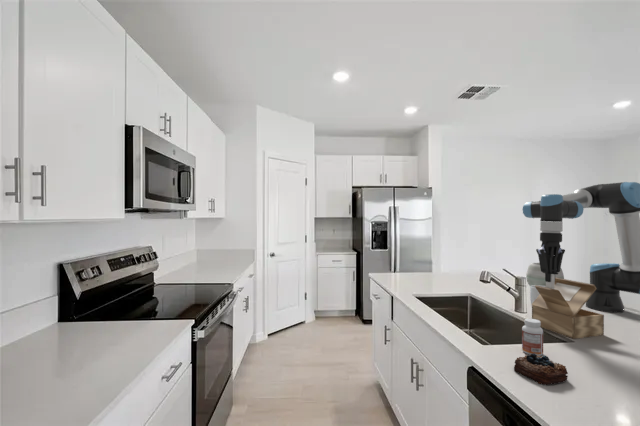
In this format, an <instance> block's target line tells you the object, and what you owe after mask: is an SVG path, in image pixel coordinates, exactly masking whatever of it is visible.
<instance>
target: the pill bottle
mask: <svg viewBox="0 0 640 426" xmlns="http://www.w3.org/2000/svg"><path fill="white" fill-rule="evenodd" d="M540 325H541V322H540V321H539V320H536V319H532V318H525V319H524V325H522V327H521V347H522V348H521V349H522V352H523V353H525V355H531V354H533V353H535V354H536V355H537V356H541V357H542V356H544V329H543V328H541V327H540Z"/></svg>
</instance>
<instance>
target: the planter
mask: <svg viewBox="0 0 640 426" xmlns="http://www.w3.org/2000/svg"><path fill="white" fill-rule="evenodd" d="M563 271H564V270H563V269H562V267H561V268H560V272H557V273H558V274H555V277H556V278H561V279H565V276H564V272H563ZM525 278H526V282H527V284H528V285H529V287H530V286H532V285H542V286H546V281H545V273H543V272H541V268H540V263H539V262H531V263H529V265H528V267H527V269H526V277H525Z"/></svg>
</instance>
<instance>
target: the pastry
mask: <svg viewBox="0 0 640 426" xmlns="http://www.w3.org/2000/svg"><path fill="white" fill-rule="evenodd" d="M514 360H515V361H514V366H513V371H514V372H515V373H517V374H519V375H521V376H523V377H524V378H527V379H529V380H531V381H533V382H536V383H537V384H539V385H542V386H554V385H559V384H563V383H565V382H566V381H567V379H568V377H569V376H568V374H569V372H568V370H567V367H566V366H565V365H563V364H561V363H559V362H558V363H557V362H553V361H552V360H550V359H549V356H547V355H541V356H537V355H536V354H535V353H533V354H531V355H529V354H525V355H524V356H519V357H516V359H514Z"/></svg>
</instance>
